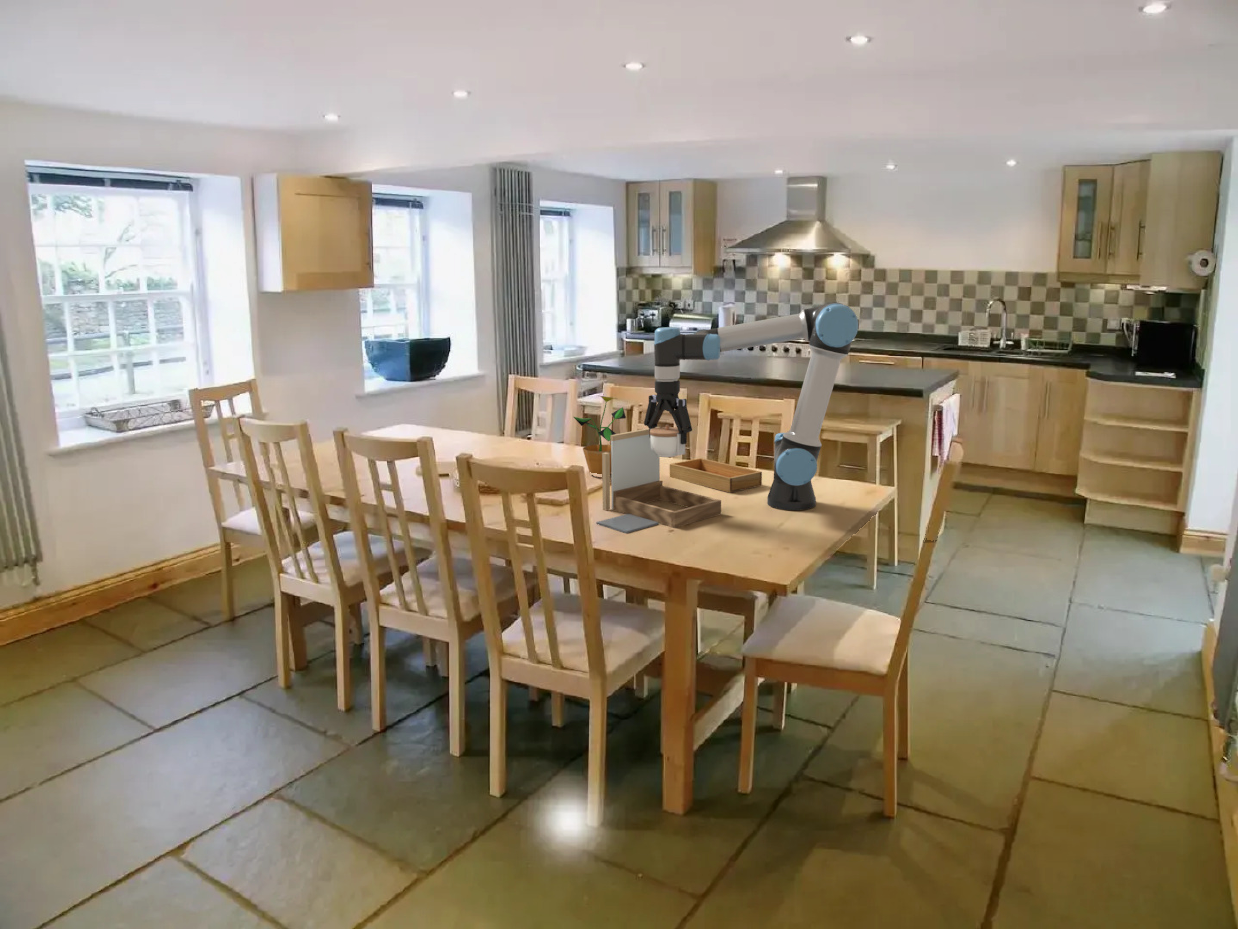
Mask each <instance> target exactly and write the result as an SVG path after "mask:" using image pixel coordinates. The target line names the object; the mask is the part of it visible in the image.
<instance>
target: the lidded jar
mask: <svg viewBox="0 0 1238 929" xmlns="http://www.w3.org/2000/svg"><path fill="white" fill-rule="evenodd" d="M659 427H660V426H659ZM678 433H679V431H678V428H677V426H676V427H675V426H674V427H672V426H670V424H665V426H663V427H662V426H661V427H660V428H654V429H651V430H650V440H651V446H652V448H653V450H654V451H655V452H656V453H657V454H658V456H660V457H661V458H674V457H677V456H679V455H677V434H678Z"/></svg>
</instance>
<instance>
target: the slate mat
mask: <svg viewBox="0 0 1238 929" xmlns="http://www.w3.org/2000/svg"><path fill="white" fill-rule="evenodd" d="M598 524H599V526H602V527H605V528H609V529H611V530H615V531H617V532H621V533H624V534H628V533H633V532H636V531H639V530H644V529H648V528H650V527H654V526H657V525H659V522H656V521H652V520H649V519H645V518H642V517H638V516H635V515H631V514H625V513H624V514H622V515H618V516H615V517H610V518H607V519H603V520H599V521H596V525H598Z"/></svg>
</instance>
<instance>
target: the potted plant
mask: <svg viewBox="0 0 1238 929" xmlns="http://www.w3.org/2000/svg"><path fill="white" fill-rule="evenodd" d="M596 397H598V395H596ZM599 397H601V398H602V399H603V401H604V402H605V405H604V409H603V413H602V416H601V420H600V424H599V428H598V426H597V425H596V423H595V421H594V420H593V418H591V417H590V418H589V417H588V418H582V417H577V416H573V418H574V419H575V420H576V422H577V423H578V424H579V425H580V426H582V427H583V426H584V425H585V424H586V425H587V427H590V428H592V429H595V430H596V431H597V434H598V437H599V444H589V445H586V446H584V447H582V451H583V454H584V458H585V461H586V464H587V469H588V473H590V472H591V473H597V474H602V453H609V456H610V474H611V444H603V443H602V437H603V439H605V441H607V442H610V441H611V438H610V435H615V434H617V433H616V432H615V431H614V430H612V429H611V427H610V426H611V425H612V424H613V422H614V421H615V420H621V419H624V420H625V419H627V416H626V413H625V411H624V407H623V406H622V407H621V408H619V409H617V410H615V411H613V412H612V413H611V416H612V417H613V418H614V419H613V420H612V421H611V422H610V423H609V424H608V425H607V426H602V423H603V419H604V415H605V413H606V408H607V402H610V401H611V400H617V397H616V398H615V397H609V396H603V395H599ZM589 421H592V423H593V424H592V423H589Z"/></svg>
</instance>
